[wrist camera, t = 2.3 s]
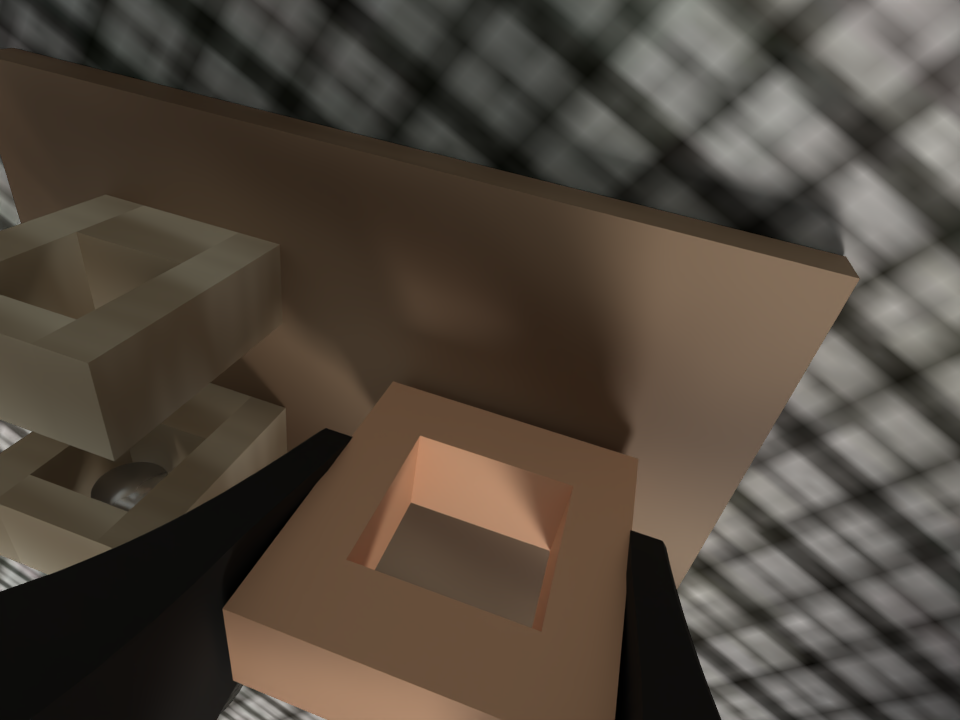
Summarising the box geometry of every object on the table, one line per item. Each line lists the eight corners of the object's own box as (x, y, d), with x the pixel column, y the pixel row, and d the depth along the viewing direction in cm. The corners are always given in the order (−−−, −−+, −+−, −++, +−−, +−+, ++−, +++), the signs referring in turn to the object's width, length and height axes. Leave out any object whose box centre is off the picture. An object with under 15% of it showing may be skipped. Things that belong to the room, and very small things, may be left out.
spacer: (611, 521, 13) (572, 821, 9) (387, 446, 14) (232, 680, 9) (638, 458, 12) (610, 762, 7) (392, 381, 13) (222, 608, 8)
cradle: (585, 722, 21) (555, 949, 16) (144, 551, 23) (1, 699, 18) (846, 256, 10) (991, 484, 6) (13, 48, 13) (-384, 78, 8)
